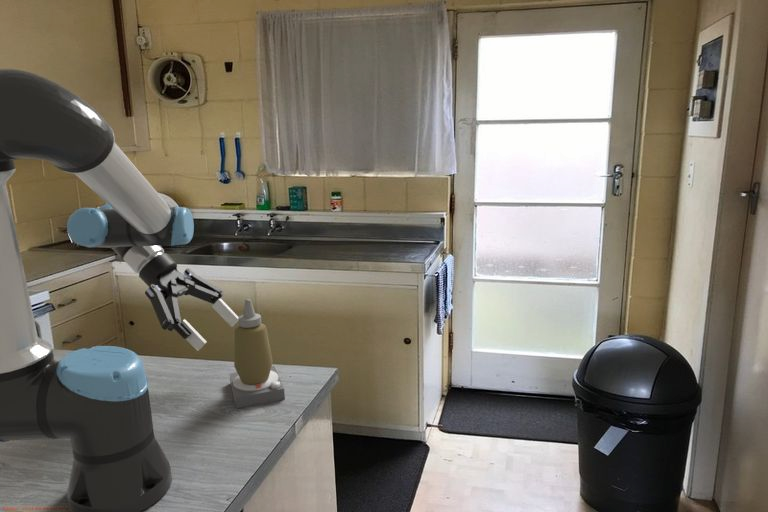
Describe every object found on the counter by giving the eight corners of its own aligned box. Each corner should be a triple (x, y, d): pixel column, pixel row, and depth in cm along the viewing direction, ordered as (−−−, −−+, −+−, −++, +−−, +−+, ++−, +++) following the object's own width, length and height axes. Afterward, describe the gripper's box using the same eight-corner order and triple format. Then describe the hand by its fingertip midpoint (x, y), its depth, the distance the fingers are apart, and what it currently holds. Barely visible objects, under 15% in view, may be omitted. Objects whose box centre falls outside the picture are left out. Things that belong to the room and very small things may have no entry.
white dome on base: (284, 399, 119) (283, 385, 119) (236, 408, 116) (234, 394, 115) (275, 375, 130) (274, 362, 130) (230, 383, 127) (229, 370, 126)
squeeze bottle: (279, 372, 126) (273, 294, 121) (265, 389, 118) (259, 307, 114) (244, 370, 127) (237, 293, 123) (229, 387, 119) (221, 305, 115)
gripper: (177, 260, 136) (238, 324, 135) (101, 291, 112) (175, 369, 112) (194, 239, 133) (257, 304, 133) (120, 267, 110) (196, 346, 109)
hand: (220, 334), depth 122 cm, fingers open, 13 cm apart
